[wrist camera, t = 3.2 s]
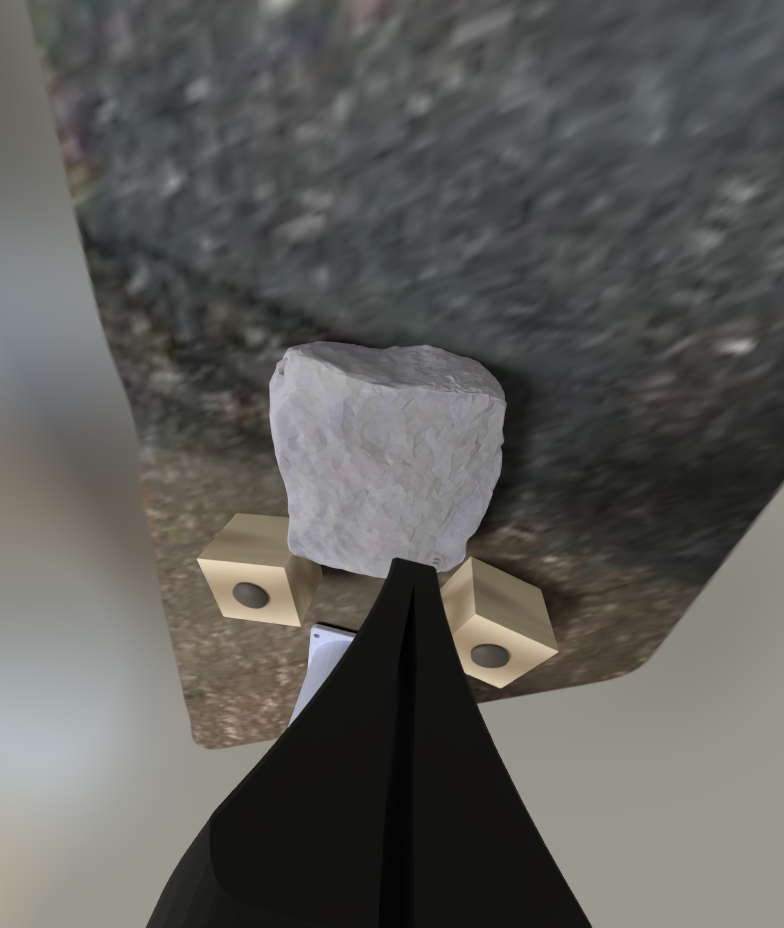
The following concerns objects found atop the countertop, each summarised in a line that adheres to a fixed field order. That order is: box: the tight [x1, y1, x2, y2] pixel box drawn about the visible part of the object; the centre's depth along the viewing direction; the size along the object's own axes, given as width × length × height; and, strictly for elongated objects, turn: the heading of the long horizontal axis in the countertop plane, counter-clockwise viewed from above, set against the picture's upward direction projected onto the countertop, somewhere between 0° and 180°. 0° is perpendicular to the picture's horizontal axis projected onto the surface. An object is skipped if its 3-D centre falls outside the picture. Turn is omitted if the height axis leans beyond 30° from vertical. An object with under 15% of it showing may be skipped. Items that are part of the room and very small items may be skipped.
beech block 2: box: [440, 556, 559, 688], centre depth 19 cm, size 5×5×4 cm
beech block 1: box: [197, 513, 323, 627], centre depth 20 cm, size 5×5×4 cm
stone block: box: [270, 341, 507, 578], centre depth 16 cm, size 12×5×10 cm
